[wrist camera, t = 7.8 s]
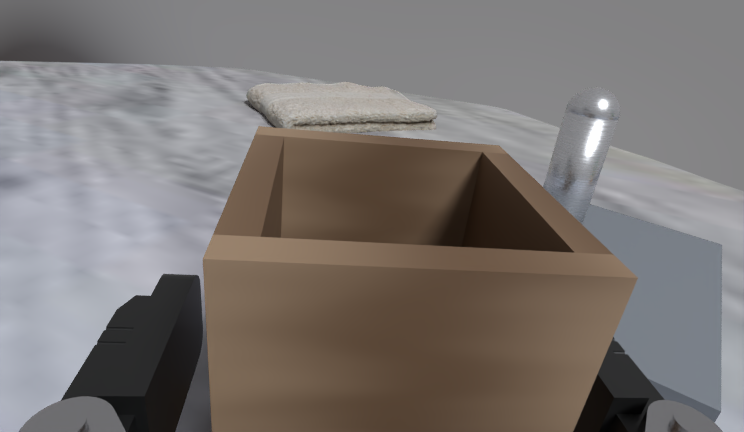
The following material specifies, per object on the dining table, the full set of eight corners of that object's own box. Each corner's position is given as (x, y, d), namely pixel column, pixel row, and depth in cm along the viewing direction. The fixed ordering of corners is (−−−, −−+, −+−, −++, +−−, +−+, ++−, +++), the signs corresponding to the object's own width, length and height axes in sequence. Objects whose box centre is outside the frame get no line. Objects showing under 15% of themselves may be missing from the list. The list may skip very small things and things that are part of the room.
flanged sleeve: (145, 756, 9) (38, 322, 4) (224, 406, 16) (213, 108, 12) (554, 719, 10) (796, 341, 5) (456, 407, 17) (527, 134, 13)
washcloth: (442, 134, 51) (447, 105, 50) (281, 143, 43) (282, 108, 41) (386, 105, 60) (389, 80, 59) (245, 108, 52) (244, 79, 50)
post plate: (342, 268, 24) (362, 67, 20) (470, 186, 37) (499, 52, 32) (702, 441, 17) (859, 181, 12) (711, 266, 29) (791, 104, 25)
